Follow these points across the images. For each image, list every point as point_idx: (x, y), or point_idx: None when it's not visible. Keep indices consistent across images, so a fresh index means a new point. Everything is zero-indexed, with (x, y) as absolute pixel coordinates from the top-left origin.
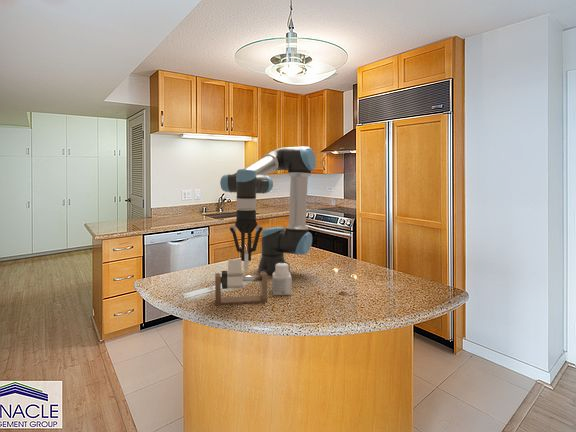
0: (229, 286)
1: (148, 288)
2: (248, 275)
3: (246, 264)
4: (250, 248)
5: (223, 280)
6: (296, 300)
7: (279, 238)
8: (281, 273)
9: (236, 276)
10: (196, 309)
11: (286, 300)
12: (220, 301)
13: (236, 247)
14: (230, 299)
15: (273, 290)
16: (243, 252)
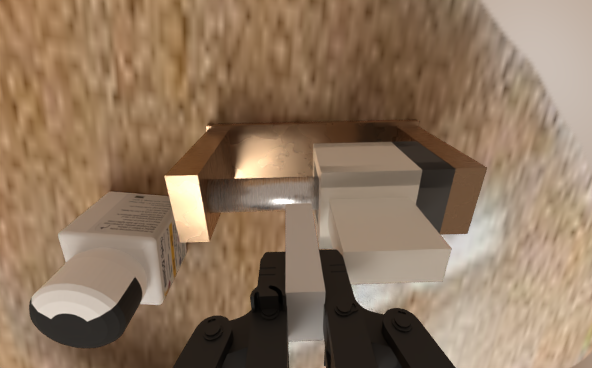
0: (383, 144)
1: (588, 299)
2: (282, 204)
3: (299, 225)
4: (257, 345)
5: (429, 156)
6: (81, 125)
7: None
8: (101, 254)
9: (360, 165)
10: (495, 84)
11: (125, 131)
12: (400, 127)
13: (440, 356)
14: None
15: None
16: (338, 301)
